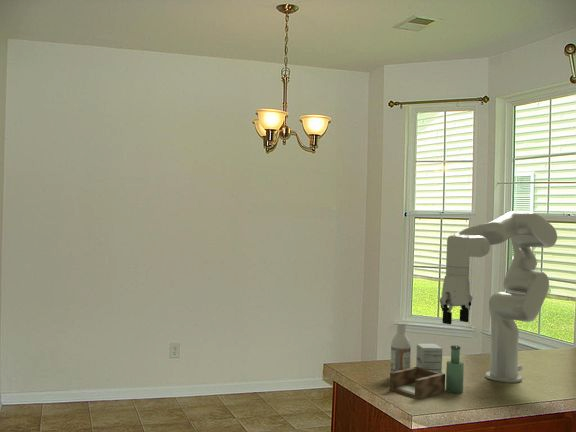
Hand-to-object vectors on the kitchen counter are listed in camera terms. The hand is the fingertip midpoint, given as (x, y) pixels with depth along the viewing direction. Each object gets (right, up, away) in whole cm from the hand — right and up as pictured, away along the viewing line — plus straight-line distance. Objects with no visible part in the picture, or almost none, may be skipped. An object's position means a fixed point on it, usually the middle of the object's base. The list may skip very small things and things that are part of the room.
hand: (455, 322), depth 206 cm
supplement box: (-6, -23, +12) cm, 27 cm away
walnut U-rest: (-13, -23, -1) cm, 26 cm away
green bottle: (0, -23, 0) cm, 23 cm away
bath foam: (-16, -23, +14) cm, 31 cm away
